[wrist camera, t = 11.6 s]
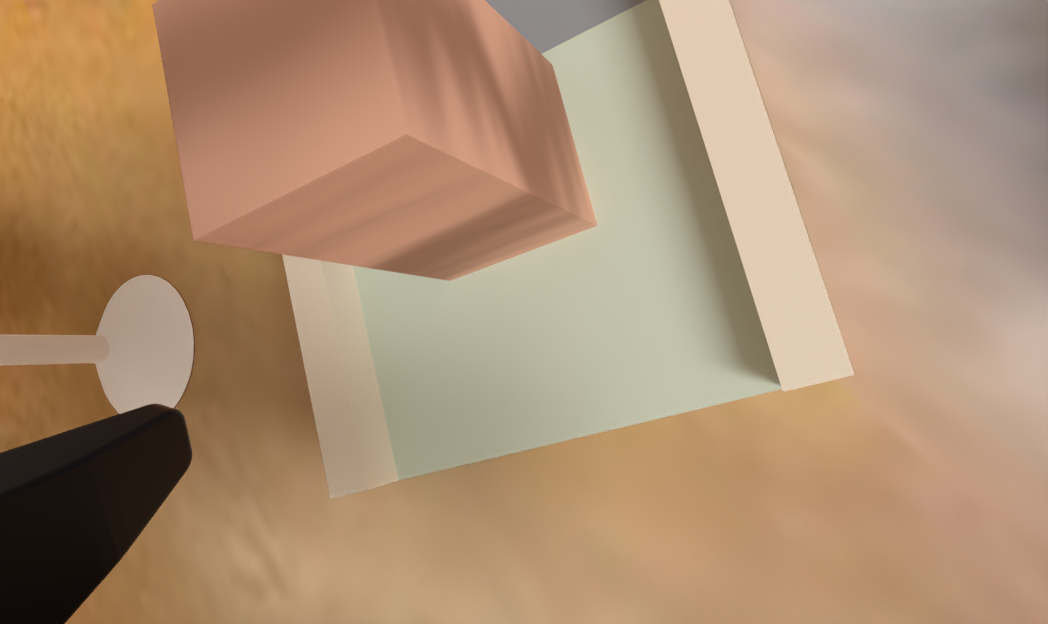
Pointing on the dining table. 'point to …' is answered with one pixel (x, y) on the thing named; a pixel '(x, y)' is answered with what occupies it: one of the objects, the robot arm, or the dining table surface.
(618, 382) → the trap board
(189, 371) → the champagne flute
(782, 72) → the dining table surface
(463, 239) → the terracotta block
